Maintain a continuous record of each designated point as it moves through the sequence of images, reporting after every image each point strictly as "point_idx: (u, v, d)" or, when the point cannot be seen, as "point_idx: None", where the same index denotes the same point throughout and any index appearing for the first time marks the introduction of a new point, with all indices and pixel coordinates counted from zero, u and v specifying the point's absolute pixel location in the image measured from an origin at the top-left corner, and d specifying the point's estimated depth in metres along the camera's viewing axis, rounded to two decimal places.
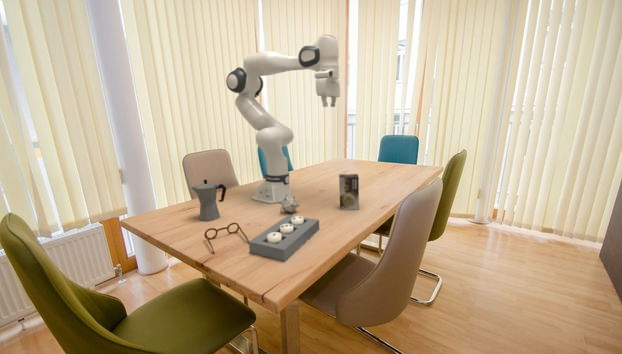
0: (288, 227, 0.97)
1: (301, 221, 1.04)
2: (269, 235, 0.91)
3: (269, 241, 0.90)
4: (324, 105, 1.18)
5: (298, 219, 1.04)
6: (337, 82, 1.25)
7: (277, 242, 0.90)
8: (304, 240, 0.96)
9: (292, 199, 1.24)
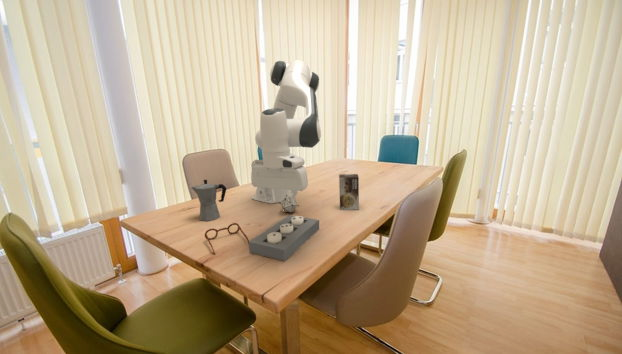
0: (288, 227, 0.97)
1: (301, 221, 1.04)
2: (269, 235, 0.91)
3: (269, 241, 0.90)
4: (294, 201, 0.87)
5: (298, 219, 1.04)
6: None
7: (277, 242, 0.90)
8: (304, 240, 0.96)
9: None
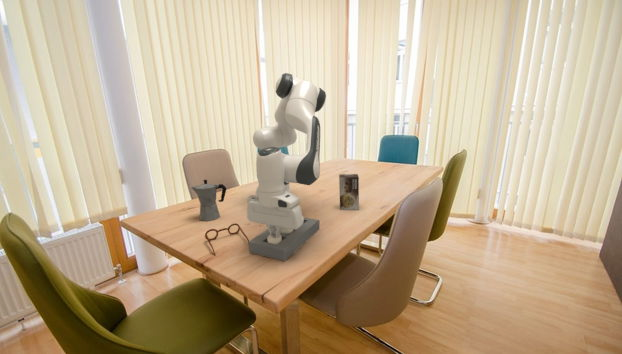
0: None
1: None
2: (269, 237, 0.91)
3: None
4: (278, 235, 0.90)
5: None
6: None
7: None
8: (304, 240, 0.96)
9: None
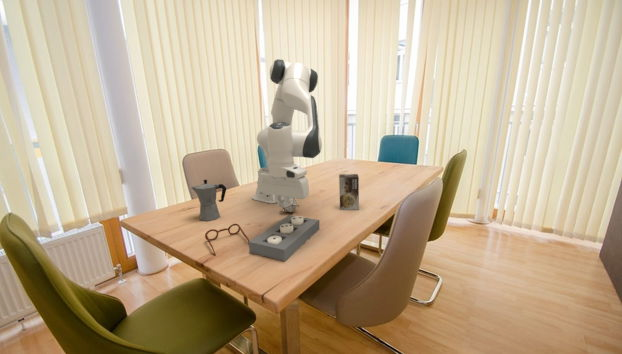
0: (288, 227, 0.97)
1: (301, 221, 1.04)
2: (269, 239, 0.91)
3: None
4: (285, 205, 0.97)
5: (298, 219, 1.04)
6: None
7: None
8: (304, 240, 0.96)
9: (292, 199, 1.24)
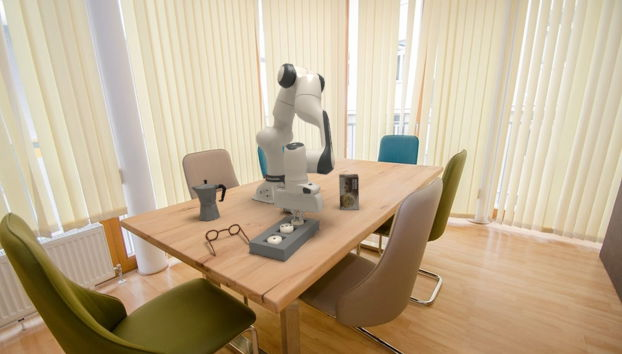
0: (288, 227, 0.97)
1: (301, 223, 1.04)
2: (269, 239, 0.91)
3: None
4: (301, 219, 1.04)
5: (298, 221, 1.04)
6: None
7: None
8: (304, 240, 0.96)
9: None
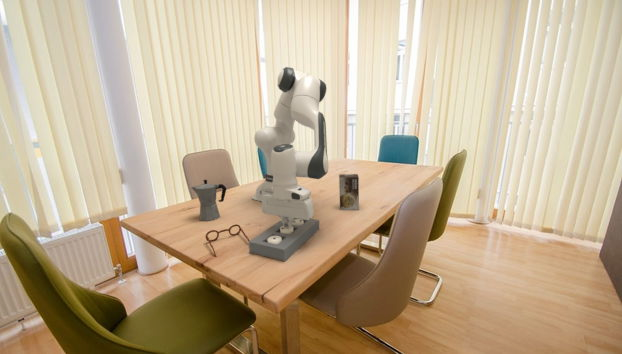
0: (288, 229, 0.97)
1: (301, 224, 1.04)
2: (269, 239, 0.91)
3: None
4: (291, 226, 0.97)
5: (298, 222, 1.04)
6: None
7: None
8: (304, 240, 0.96)
9: None
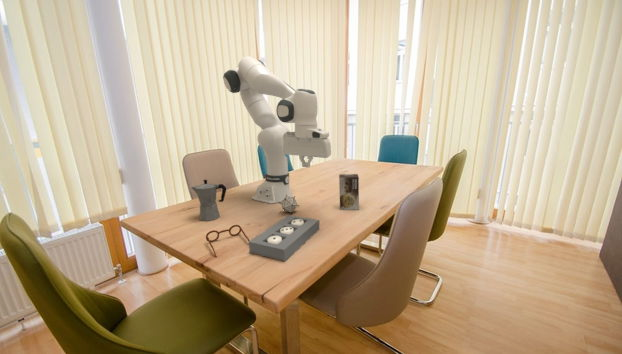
0: (288, 230, 0.97)
1: (301, 224, 1.04)
2: (269, 239, 0.91)
3: None
4: (309, 165, 1.08)
5: (298, 222, 1.04)
6: None
7: None
8: (304, 240, 0.96)
9: (292, 199, 1.24)
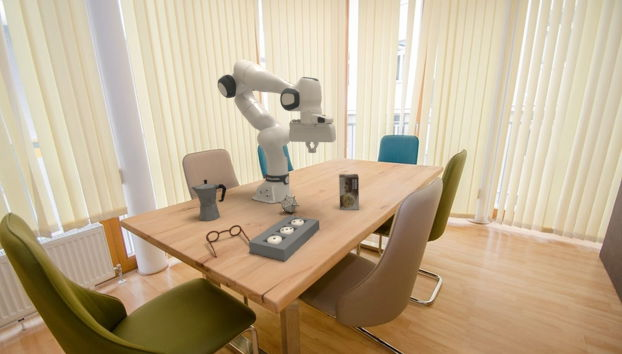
0: (288, 230, 0.97)
1: (301, 224, 1.04)
2: (269, 239, 0.91)
3: None
4: (315, 151, 1.12)
5: (298, 222, 1.04)
6: None
7: None
8: (304, 240, 0.96)
9: (292, 199, 1.24)
